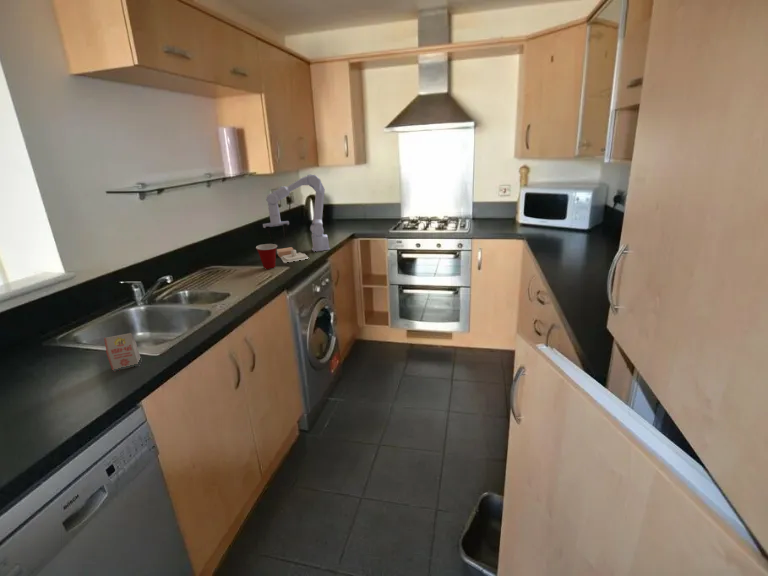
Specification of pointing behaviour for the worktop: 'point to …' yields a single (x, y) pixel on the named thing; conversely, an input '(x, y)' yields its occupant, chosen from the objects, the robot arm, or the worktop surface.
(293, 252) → the lid
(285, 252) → the block
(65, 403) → the worktop surface
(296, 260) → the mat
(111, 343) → the beige cardboard box
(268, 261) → the plastic cup
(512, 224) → the worktop surface
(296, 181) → the robot arm
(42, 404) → the worktop surface
